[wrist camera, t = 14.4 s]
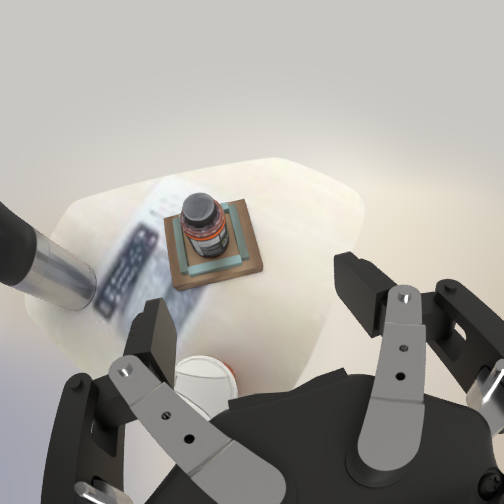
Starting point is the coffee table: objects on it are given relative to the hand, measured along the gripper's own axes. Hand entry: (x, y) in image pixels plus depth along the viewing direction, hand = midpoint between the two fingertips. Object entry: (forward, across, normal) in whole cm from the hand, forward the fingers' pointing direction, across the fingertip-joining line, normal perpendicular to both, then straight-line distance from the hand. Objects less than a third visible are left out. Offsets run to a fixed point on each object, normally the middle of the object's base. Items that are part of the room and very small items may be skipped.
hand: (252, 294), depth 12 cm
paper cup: (+18, +7, +26) cm, 32 cm away
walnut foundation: (+33, +3, +11) cm, 35 cm away
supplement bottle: (+30, +3, +9) cm, 32 cm away
